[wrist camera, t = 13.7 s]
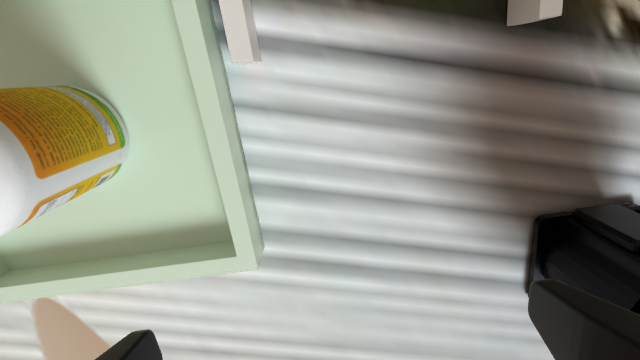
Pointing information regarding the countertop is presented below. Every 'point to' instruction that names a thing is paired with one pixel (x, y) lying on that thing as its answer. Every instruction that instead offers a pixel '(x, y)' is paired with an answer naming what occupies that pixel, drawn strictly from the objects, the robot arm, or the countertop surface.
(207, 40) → the tray
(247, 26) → the bay
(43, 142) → the supplement bottle
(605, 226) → the robot arm
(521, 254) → the countertop surface
